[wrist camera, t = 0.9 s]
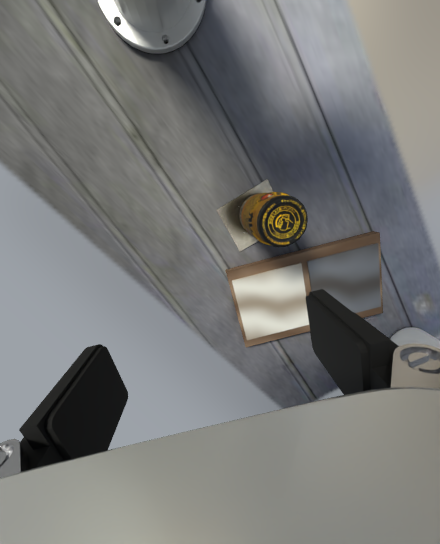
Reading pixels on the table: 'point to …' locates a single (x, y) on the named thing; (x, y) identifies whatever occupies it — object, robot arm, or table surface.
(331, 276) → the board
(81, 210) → the table surface
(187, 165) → the table surface
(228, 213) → the condiment
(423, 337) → the milk bottle
